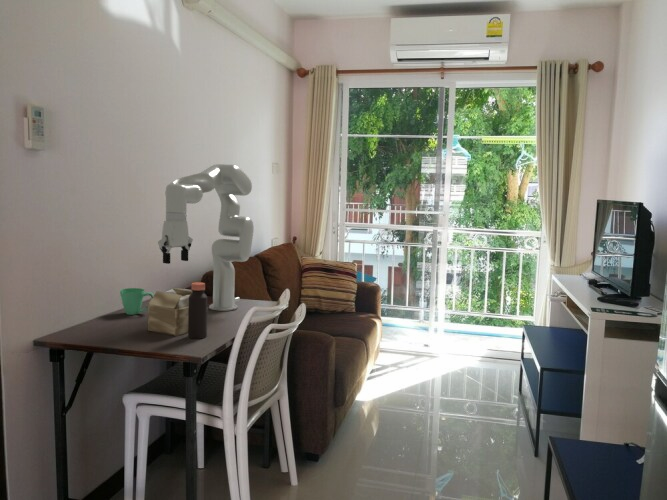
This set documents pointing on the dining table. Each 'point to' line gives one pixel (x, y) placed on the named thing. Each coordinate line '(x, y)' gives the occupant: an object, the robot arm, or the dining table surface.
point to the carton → (169, 318)
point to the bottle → (197, 311)
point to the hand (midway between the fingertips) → (175, 261)
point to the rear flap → (182, 291)
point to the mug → (133, 300)
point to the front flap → (165, 299)
